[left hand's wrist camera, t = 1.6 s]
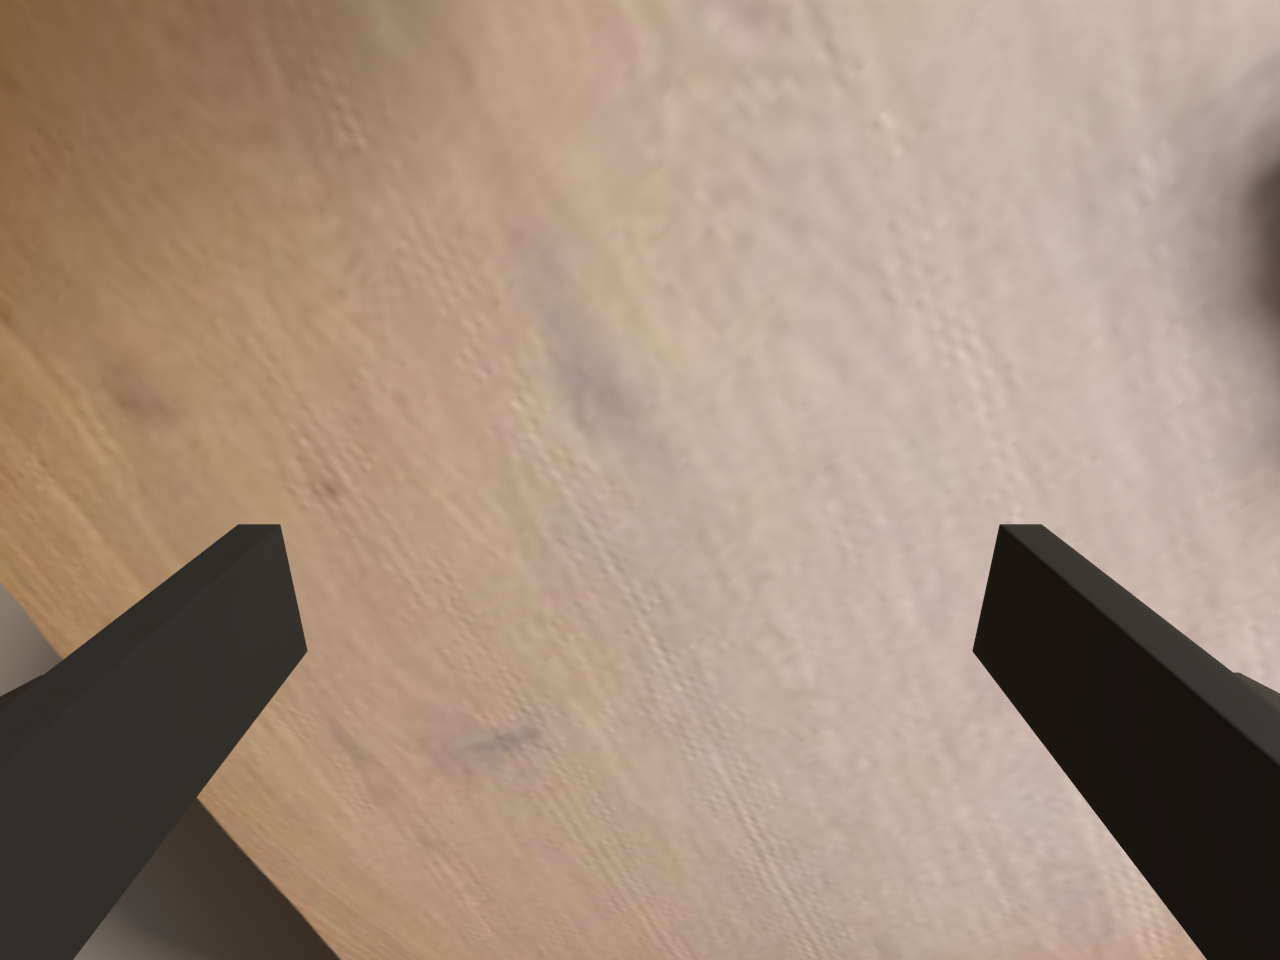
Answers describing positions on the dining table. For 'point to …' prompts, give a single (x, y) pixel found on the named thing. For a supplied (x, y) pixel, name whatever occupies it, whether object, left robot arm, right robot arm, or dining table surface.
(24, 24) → the dining table surface
